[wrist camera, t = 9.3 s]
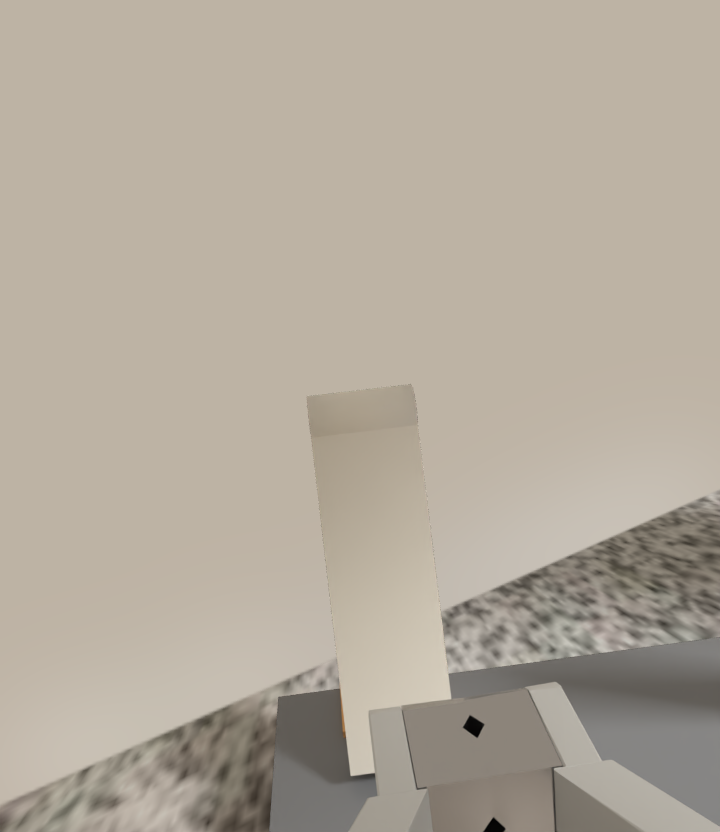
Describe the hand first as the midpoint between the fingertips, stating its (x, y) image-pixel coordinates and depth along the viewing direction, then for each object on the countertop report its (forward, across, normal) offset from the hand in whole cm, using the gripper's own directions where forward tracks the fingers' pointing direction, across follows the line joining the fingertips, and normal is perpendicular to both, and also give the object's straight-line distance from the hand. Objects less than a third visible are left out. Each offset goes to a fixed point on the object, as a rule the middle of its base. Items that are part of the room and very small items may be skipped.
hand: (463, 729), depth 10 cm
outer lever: (+12, +1, +12) cm, 17 cm away
